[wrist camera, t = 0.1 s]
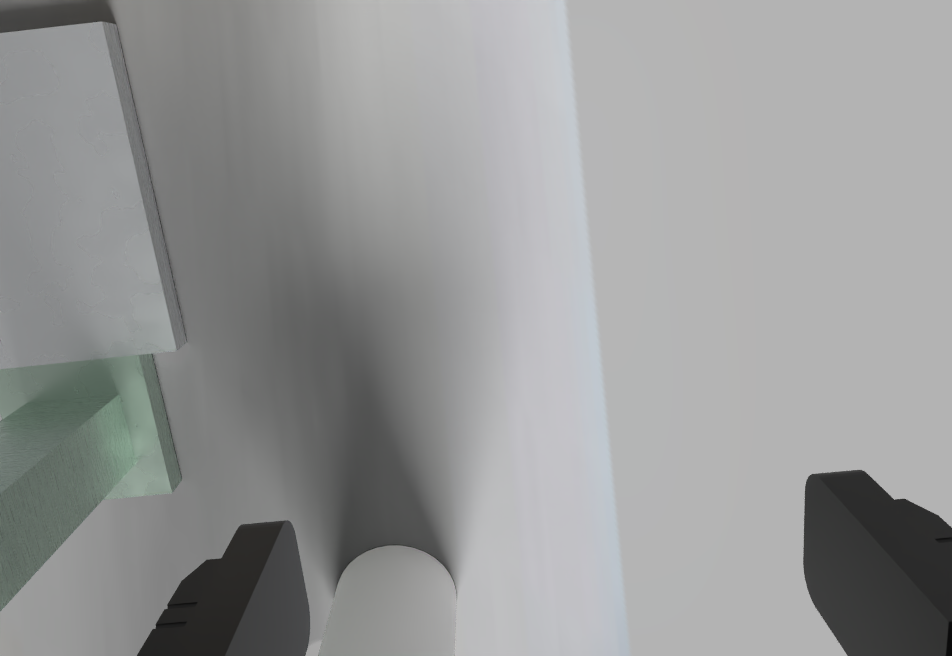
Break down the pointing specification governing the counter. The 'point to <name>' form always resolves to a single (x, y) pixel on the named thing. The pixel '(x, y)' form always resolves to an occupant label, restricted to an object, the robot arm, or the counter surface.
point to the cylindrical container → (392, 606)
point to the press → (76, 295)
